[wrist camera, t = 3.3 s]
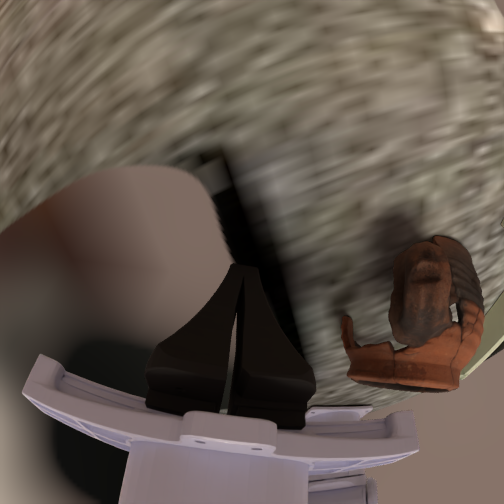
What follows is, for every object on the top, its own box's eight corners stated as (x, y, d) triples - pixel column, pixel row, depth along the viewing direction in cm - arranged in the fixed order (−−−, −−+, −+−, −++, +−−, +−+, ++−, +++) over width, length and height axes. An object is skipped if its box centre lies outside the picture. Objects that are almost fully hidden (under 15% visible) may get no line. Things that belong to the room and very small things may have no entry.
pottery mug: (474, 288, 16) (465, 395, 13) (369, 289, 22) (349, 385, 19) (492, 177, 8) (511, 376, 5) (313, 196, 14) (270, 354, 11)
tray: (454, 355, 21) (463, 379, 18) (406, 357, 20) (414, 385, 18) (543, 234, 12) (563, 257, 9) (507, 211, 11) (533, 238, 9)
